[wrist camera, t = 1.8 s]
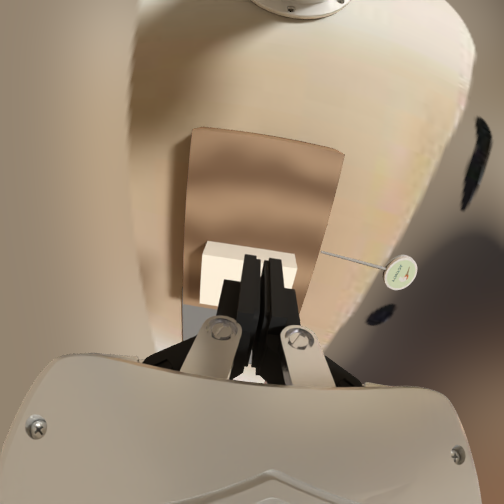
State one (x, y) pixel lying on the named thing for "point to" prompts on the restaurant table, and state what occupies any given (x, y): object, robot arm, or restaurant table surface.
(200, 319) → the mat
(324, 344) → the restaurant table surface
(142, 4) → the restaurant table surface
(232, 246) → the cream rectangular block
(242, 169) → the board
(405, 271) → the sign
